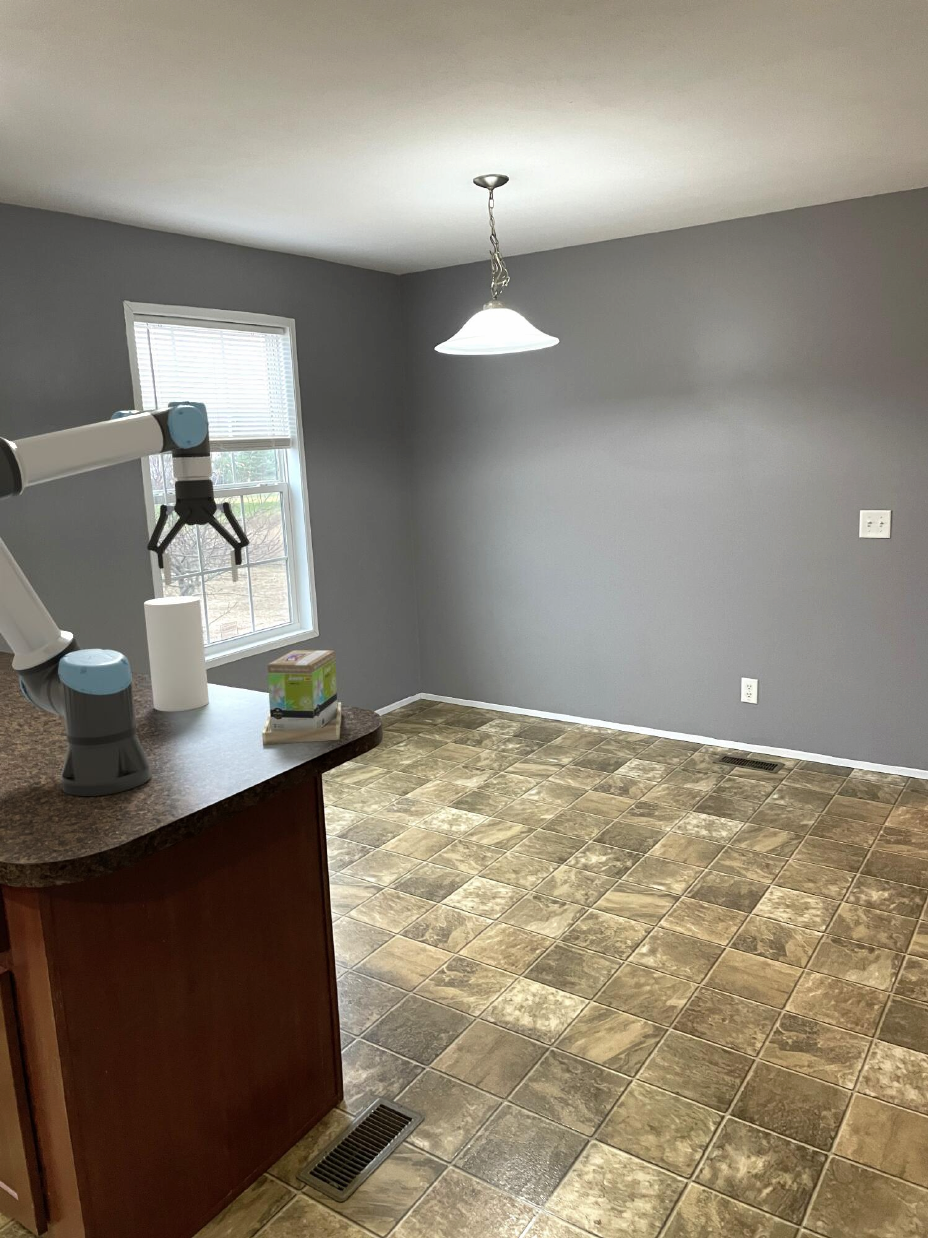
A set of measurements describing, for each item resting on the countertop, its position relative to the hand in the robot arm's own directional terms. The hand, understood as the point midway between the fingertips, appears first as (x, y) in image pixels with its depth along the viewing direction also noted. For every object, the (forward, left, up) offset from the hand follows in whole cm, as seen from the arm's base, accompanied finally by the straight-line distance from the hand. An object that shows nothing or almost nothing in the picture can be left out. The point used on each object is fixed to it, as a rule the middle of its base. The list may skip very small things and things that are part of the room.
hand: (202, 582), depth 193 cm
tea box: (-3, -19, -31) cm, 37 cm away
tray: (-3, -19, -32) cm, 37 cm away
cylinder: (+24, +11, -32) cm, 42 cm away
